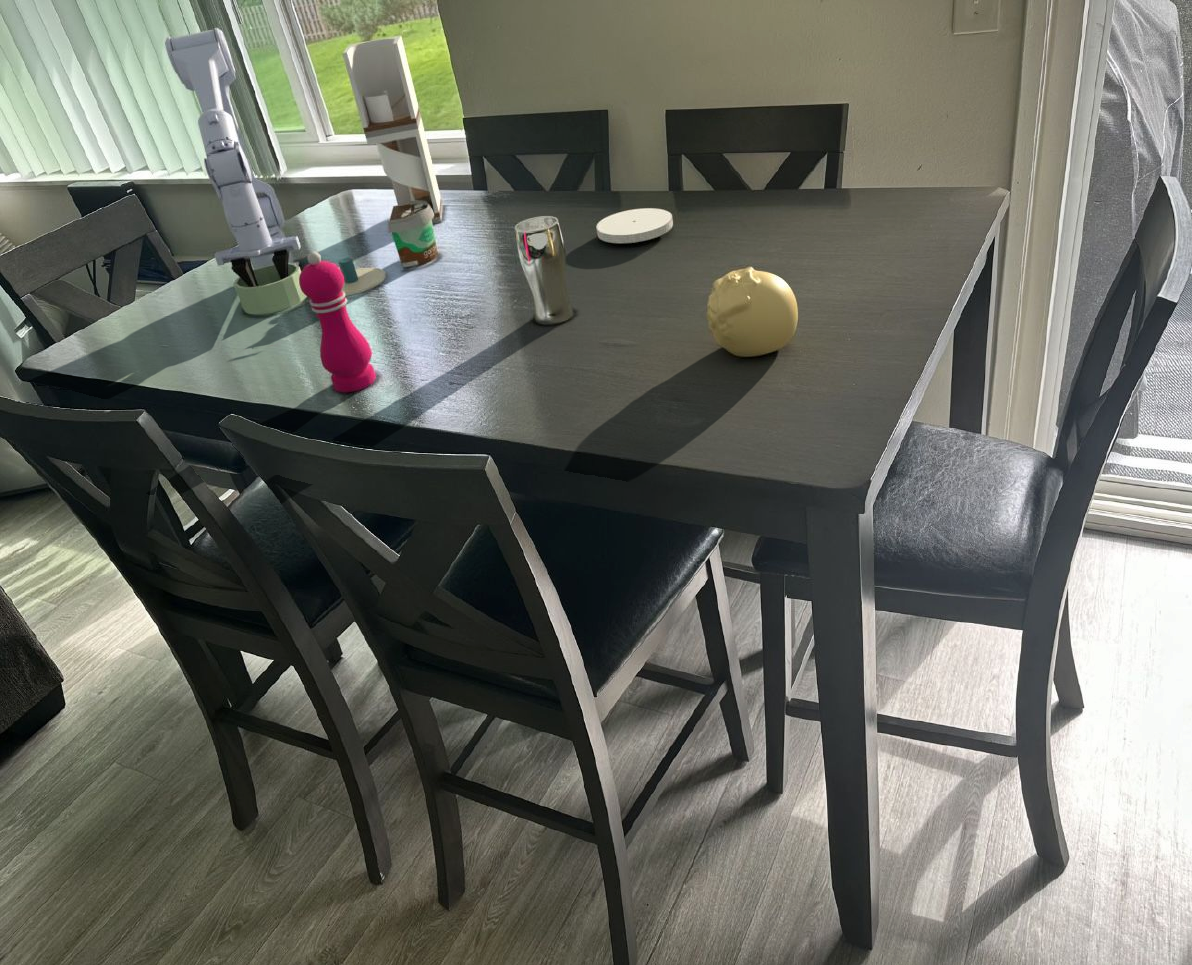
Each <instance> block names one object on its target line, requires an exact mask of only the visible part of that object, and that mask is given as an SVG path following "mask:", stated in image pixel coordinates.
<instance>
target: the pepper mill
mask: <svg viewBox="0 0 1192 965" xmlns="http://www.w3.org/2000/svg"><path fill="white" fill-rule="evenodd" d="M307 261H308V263H309V264H307V265H305V266H304V268H303V269H302V270H301V273H300V276H299V284H300V288H301V290H302V292H303V293H304V294H305V295H306V296H307V297H306V298H308V299H309V305H310V306H311V311H313V313H316V316H317V318H318V321H319V324H320V327H321V340H320V348H319V357H320V361H321V364H322V367H323V369H325V371H327V372H329V373H330V374H331V375H330V381H331V383H332V386H333V389H334V390H335V391H336V392H339V393H353V392H358V391H360V390H363V389H365V388H367V387H369V386H372V384H373V383H374V382H375V380H376V379H377V374H376V371H375V369H374V365H372V364H371V363H370V362H371V359H372V355H373V351H372V349H371V346H370V344H369V341H368V340H367V339H366V338H365V336H364V335H363V334H362V333H361V331H359V329H358V328H357V327H356V326H355V324H354V323H353V321H352V320H351V318H350V316H349V313H348V311H347V306H346V305H347V304H348V299H347V298H346V297H347V296H345V293H344V292H343V291H342V288H343V286H344V276H343V274H342V272H341V270H340V267H339V265H338V266H337V264H336V263H333V262H331V261H328V260H322V256H321V254H320V253H319V252H317V251H311V252H309V253H308V255H307Z"/></svg>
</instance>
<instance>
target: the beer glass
mask: <svg viewBox="0 0 1192 965" xmlns="http://www.w3.org/2000/svg"><path fill="white" fill-rule="evenodd" d="M514 231H515V238H516V245H517V246H516V247H517V251H518V257H519V261H520V265H521V267H522V271H523V274H524V277H525V278H526V282H527V284H528V286H529V289H530V291H531V294H532V298H533V304H534V320H535V322H536V323H537V324H539V325H543V326H552V325H559V324H561V323H564V322H567V321H569V320H570V319H571V318H572V317H573V315H574V310H573V307H572V305H571V302H570V300H569V295H568V290H567V256H566V255H567V254H566V248H565V242H564V238H563V234H562V229H561V227H560V223H559V218H558V217H556V216H552V215H542V216H535V217H531V218H527V219H524V220H522V221H519V222H518V223H517V224H515V226H514Z"/></svg>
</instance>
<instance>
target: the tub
mask: <svg viewBox="0 0 1192 965" xmlns="http://www.w3.org/2000/svg"><path fill="white" fill-rule="evenodd" d="M253 271H254V275H255V278H256V280H257V282H258V285H259V286H257V287H248V285H247V284H246V283H245V282H244V281H243V280H242V279H241V278H240V277H239V276H238V277H237V278H236V279H235V280H234V283H233V286H234V288H235V291H236V293H237V296H238V299H239V302H240V304H241V307H242V309H243V311H244V312H245V313H246V314H250V315H267V314H272V313H277V312H280V311H283V310H286V309H289V308H293V307H294V306H296V305H298V304H300V303H301V302H303V301H304V300H305V299H306V298H308V297H307V296H306V295H305V294H304V293H303V292H302V290H301V288H300V284H299V276H300V273H301V271H302V270H301V267H300V266H299V265H297V264H293V263H288V277H286V278H284V279H282V280H281V279H280V276H279V274H278V271H277V269H276V267H275V265H274V264H272V265H267V266H263V267H260V268H257V269H253ZM270 283H271V284H270Z"/></svg>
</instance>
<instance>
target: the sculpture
mask: <svg viewBox="0 0 1192 965" xmlns="http://www.w3.org/2000/svg"><path fill="white" fill-rule="evenodd" d="M798 308H799V307H798V303H797V299H796V296H795V294H794V292H793V290H792V288H791V286H790V285H789V284H788V283H787V281H785V280H784V279H783V278H781V277H780V276H778V275H776V274H774V273H771V272H768V271H762V270H756V269H754V268H753V267H752V266H748V267H746V268H742V269H737V270H732V271H730V272H728V273H726V274H725V275H723V277H721V278H718V279H716V280H715V281H714V282H713V283H712V288H711V294H709V295H708V302H707V312H706V320H707V322H708V323H709V325H708V331H709V332H710V333H712V335H713V339H714V341H715V343H717V345H718V346H719V347H720V348H723V349H724V350H726V351H727V352H729V353H730V354H731V355H734V356H736V357H742V358H747V357H748V358H750V357H758V356H759V357H760V356H763V355H767V354H770V353H773V352H776V351H779V350H780V349H782V348H784V347H786V346H787V345H788V344H789V343H790V342H791V340H792V338H793V337H794V335H795V332H796V329H797V326H798V319H799V309H798Z"/></svg>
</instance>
